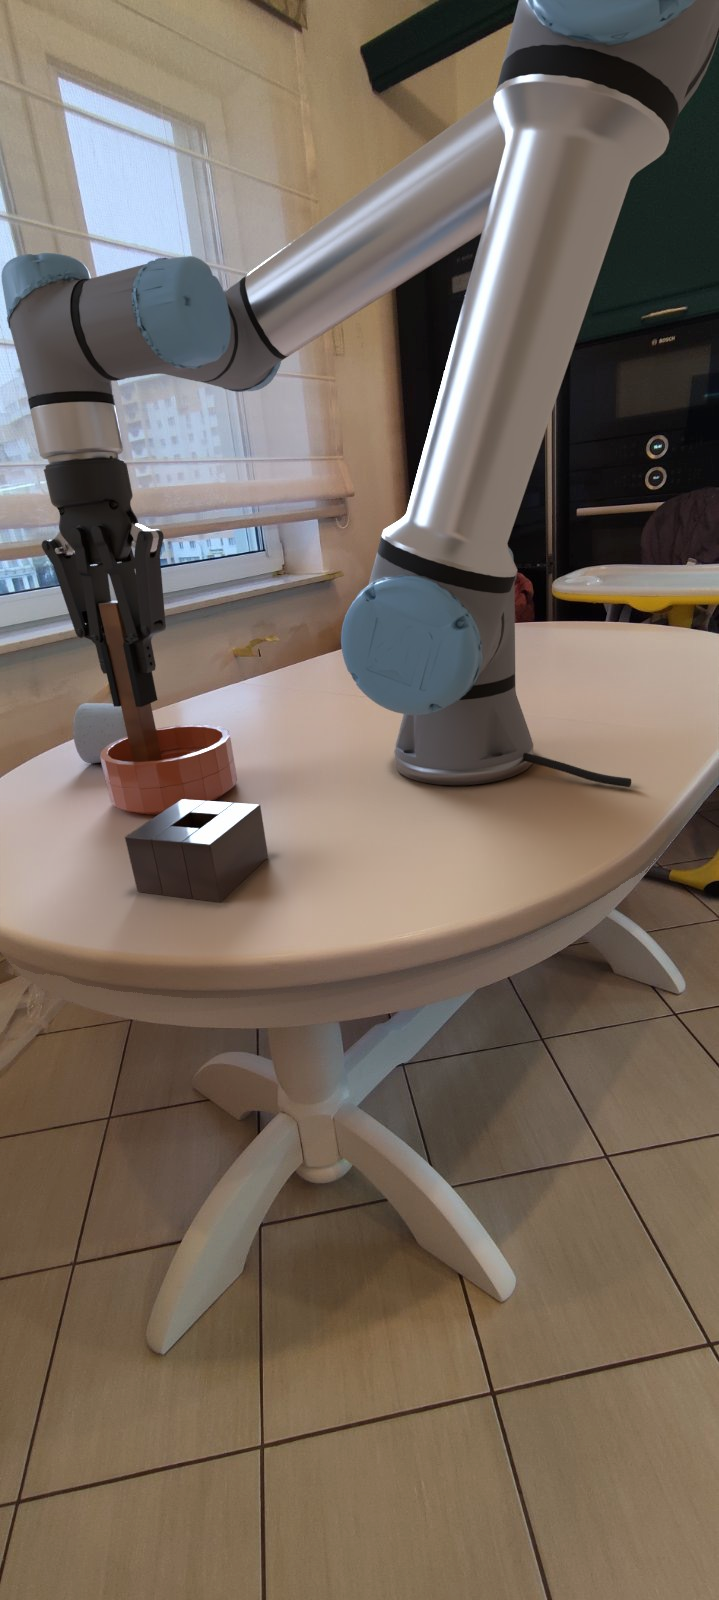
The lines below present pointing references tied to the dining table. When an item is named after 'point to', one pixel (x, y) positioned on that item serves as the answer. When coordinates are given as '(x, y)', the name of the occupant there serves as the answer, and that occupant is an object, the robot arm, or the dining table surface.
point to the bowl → (171, 769)
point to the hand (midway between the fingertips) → (135, 702)
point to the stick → (129, 689)
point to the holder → (198, 849)
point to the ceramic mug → (97, 729)
